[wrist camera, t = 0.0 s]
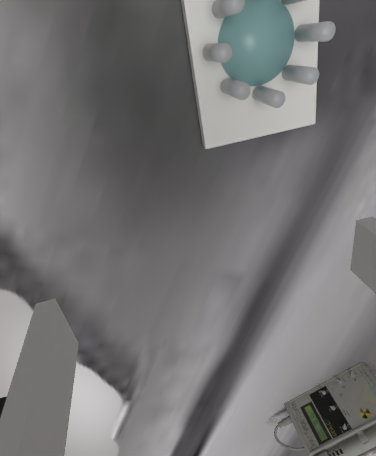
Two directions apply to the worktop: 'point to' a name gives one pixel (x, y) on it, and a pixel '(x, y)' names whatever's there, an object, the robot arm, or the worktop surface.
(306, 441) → the geiger counter
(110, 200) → the worktop surface
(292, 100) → the pin tray
